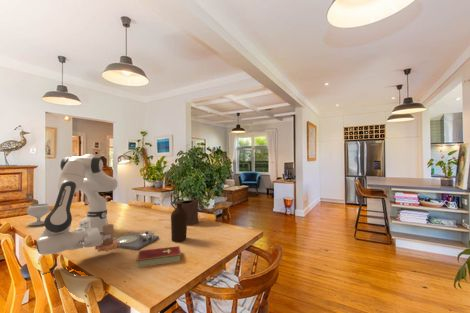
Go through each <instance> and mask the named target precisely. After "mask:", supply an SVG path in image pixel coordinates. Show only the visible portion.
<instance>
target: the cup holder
mask: <svg viewBox="0 0 470 313" xmlns="http://www.w3.org/2000/svg"><path fill="white" fill-rule="evenodd" d="M173 194H174V195H177V201H180V195H179V193H178V192H172V193H171V194H170V206H171V207H172V208H174V210H175V209H176V206H174V204H173ZM181 201H182V200H181ZM182 208H183V209H184V210H185V211H186V212H187V227H189V226H195V225H199V223H200V220H199V197H197V198H195V199H192V200H190V199H189V200H188V199H187V200H183V201H182Z"/></svg>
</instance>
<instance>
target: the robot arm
mask: <svg viewBox="0 0 470 313" xmlns="http://www.w3.org/2000/svg"><path fill="white" fill-rule="evenodd" d="M59 167H60V170H61V172H60V175H59V177H58V183H57V184H58V186H57V187H58V188H57V189H58V194H57V198H56V201H55V204H54V207H53V208H52V210H50V212H49V213H47V214H46V216H45V219H44V220H43V221H44V224H43V225H44V227H45V228H44V229H43V231H42V233H41V234H40V235H39V237H38V238H36V242H35V245H36V250H37V252H38V254H40V255H43V256H45V255H46V256H47V255H53V254H59V253H63V252H64V251H74V250H80V249H83V248H95V246H99V245H102V242H103V240H105V239H108V238H111V234H107V235H105V236H103V226H104V225H107V224H109V221H108V216H107V215H108V208H107V198H106V197H104V196H101V195H100V193H104V192H106V193H107V192H111V191H112V192H113V191H115V190H116V189H117V188H118V186H119V185H118V180H117V179H116V178H115V177H112V176H110V175H108V174H107V173H105V172H104V170H103V168H104V162H103V159H102V158H100V157H99V156H96V155H94V154H91V153H86V154H84V155H82V156H81V155H80V156H79V155H77V156H76V155H75V156H66V157H64V158H62V159H61V161H60V165H59ZM78 192H82V193H83V194H84V195H85V196H86V198H87V200H88V211H87V212H86V213H85V214H86V217H84V218H83V219H82V220H80V222H79V225H78V227H77V228H75V229H74V231H70V229H71V226H72V221H73V216H72V213H71V206H72V202H73V201H74V200H73V199H74V196H75V194H76V193H78Z"/></svg>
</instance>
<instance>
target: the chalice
mask: <svg viewBox="0 0 470 313" xmlns="http://www.w3.org/2000/svg"><path fill="white" fill-rule="evenodd" d="M50 212H51V206H50V204H49V203H37V204H31V205H29V206H28V208H27V210H26V214H28V215H27V216H30V217H34V218H36V221H34V222H30V223H29V224H27V226H31V227H32V226H41V225H44V221H45V220H41V219H42V218H43V217H44V216H45V215H48V214H49V213H50Z"/></svg>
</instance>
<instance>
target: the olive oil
mask: <svg viewBox="0 0 470 313" xmlns="http://www.w3.org/2000/svg"><path fill="white" fill-rule="evenodd" d="M175 208H176V209H174V210H173V211H172V212H171V215H170V227H171V230H170V231H171V234H170V236H171V241H172V243H173V242H174V243H181V242H185V241H186V240H187V231H188V230H187V229H188V226H187V212H186V211H185V210H184V209H183V208H182V200H179V201H178V200H177V201H176V206H175Z"/></svg>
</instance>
